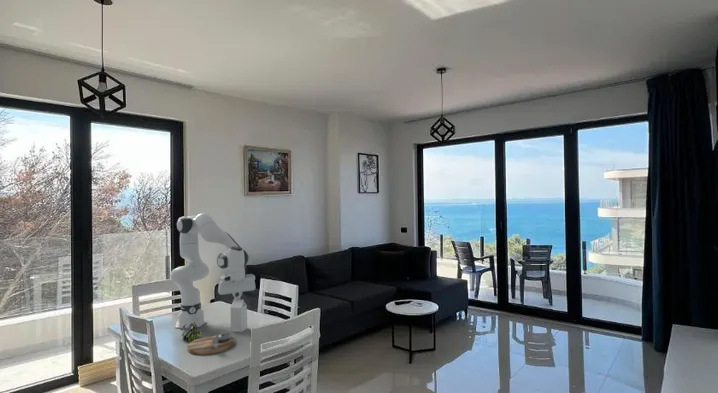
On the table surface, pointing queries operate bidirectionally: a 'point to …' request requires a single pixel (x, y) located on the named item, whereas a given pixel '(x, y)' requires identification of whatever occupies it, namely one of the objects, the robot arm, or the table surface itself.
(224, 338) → the pot lid
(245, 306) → the milk carton
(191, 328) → the passion flower
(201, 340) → the turntable
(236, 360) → the table surface
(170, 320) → the table surface
